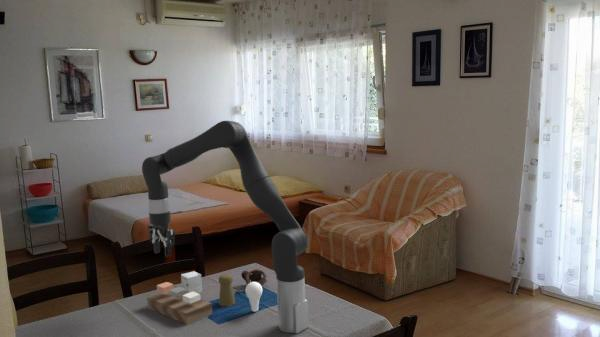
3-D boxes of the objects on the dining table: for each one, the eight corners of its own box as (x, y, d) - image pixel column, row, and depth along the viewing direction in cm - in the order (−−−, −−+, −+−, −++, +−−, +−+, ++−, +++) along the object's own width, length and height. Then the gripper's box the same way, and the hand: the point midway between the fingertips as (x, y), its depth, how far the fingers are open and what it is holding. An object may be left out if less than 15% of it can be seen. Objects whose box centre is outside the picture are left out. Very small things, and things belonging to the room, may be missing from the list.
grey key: (187, 294, 188) (186, 289, 188) (176, 298, 185) (176, 292, 185) (179, 291, 191) (179, 286, 191) (169, 295, 188) (169, 290, 188)
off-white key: (200, 299, 183) (200, 294, 183) (190, 303, 180) (190, 298, 179) (193, 296, 186) (192, 291, 186) (182, 300, 183) (182, 295, 182)
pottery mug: (272, 284, 213) (271, 271, 208) (260, 301, 206) (259, 288, 201) (247, 274, 217) (245, 261, 212) (234, 290, 211) (233, 277, 206)
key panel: (212, 313, 185) (211, 303, 185) (187, 324, 177) (186, 313, 176) (172, 298, 201) (172, 288, 200) (147, 307, 193) (147, 297, 192)
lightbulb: (253, 306, 190) (251, 278, 188) (266, 310, 187) (265, 280, 185) (243, 313, 185) (241, 283, 183) (257, 316, 182) (255, 286, 180)
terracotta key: (173, 289, 193) (173, 284, 193) (163, 293, 190) (163, 287, 190) (167, 286, 196) (166, 281, 196) (157, 290, 193) (156, 285, 193)
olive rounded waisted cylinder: (236, 299, 197) (235, 272, 195) (233, 306, 191) (231, 277, 189) (221, 299, 197) (219, 272, 196) (217, 306, 191) (215, 277, 190)
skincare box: (181, 292, 207) (180, 274, 206) (195, 287, 211) (194, 270, 210) (189, 296, 202) (187, 278, 201) (202, 292, 206) (201, 274, 205)
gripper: (179, 210, 187) (182, 255, 189) (157, 206, 196) (160, 248, 199) (161, 215, 181) (165, 260, 184) (139, 209, 191) (143, 253, 193)
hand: (162, 254), depth 191 cm, fingers open, 6 cm apart
